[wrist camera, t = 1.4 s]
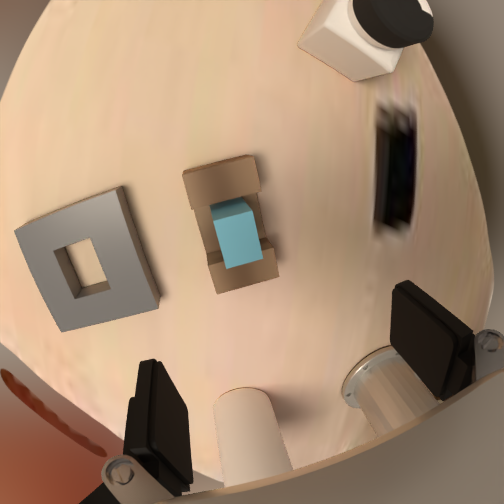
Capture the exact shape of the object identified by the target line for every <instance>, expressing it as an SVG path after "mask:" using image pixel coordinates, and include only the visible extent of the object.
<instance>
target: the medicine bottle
mask: <svg viewBox="0 0 504 504" xmlns="http://www.w3.org/2000/svg"><path fill="white" fill-rule="evenodd" d="M432 31H433V15H432V12H431V9H430V7H429V5H428V3H427V1H426V0H323V1H322V3H321V4H320V6H319V8H318V9H317V11H316V13H315V14H314V16H313V18H312V19H311V21H310V23H309V24H308V26H307V28H306V29H305V31H304V33H303V35H302V36H301V38H300V40H299V41H298V44H297V46H298V47H299V48H300V49H302V50H304V51H306V52H307V53H309V54H311V55H312V56H314V57H316V58H317V59H319V60H321V61H322V62H324V63H326V64H327V65H329V66H330V67H332V68H333V69H335V70H337V71H338V72H340V73H341V74H343V75H344V76H346V77H347V78H349V79H350V80H351V81H353V82H356V81H360V80H364V79H368V78H372V77H376V76H380V75H384V74H388V73H392V72H393V71H394V69H395V67H396V65H397V62H398V60H399V58H400V55H401V53H402V51H403V48H404V47H407V46H410V45H413V44H417V43H421V42H424V41H426V40H427V39H428V38H429V37H430V36H431V34H432Z"/></svg>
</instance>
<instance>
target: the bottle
mask: <svg viewBox="0 0 504 504" xmlns="http://www.w3.org/2000/svg"><path fill="white" fill-rule="evenodd" d="M213 413H214V420H215V428H216V435H217V442H218V449H219V455H220V462H221V468H222V474H223V480H224V486H225V487H230V486H234V485H239V484H243V483H247V482H252V481H256V480H260V479H264V478H268V477H272V476H275V475H279V474H282V473H286V472H289V471H292V470H293V468H292V465H291V462H290V459H289V456H288V453H287V450H286V447H285V444H284V441H283V438H282V435H281V432H280V429H279V426H278V423H277V420H276V417H275V414H274V411H273V408H272V405H271V402H270V399H269V397H268V396H267V395H266V394H265V393H264V392H262V391H260V390H257V389H253V388H240V389H235V390H231V391H229V392H227V393H225V394H223V395H221V396H220V397H219V398H218V399H217V400H216V402H215V404H214V408H213Z"/></svg>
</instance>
